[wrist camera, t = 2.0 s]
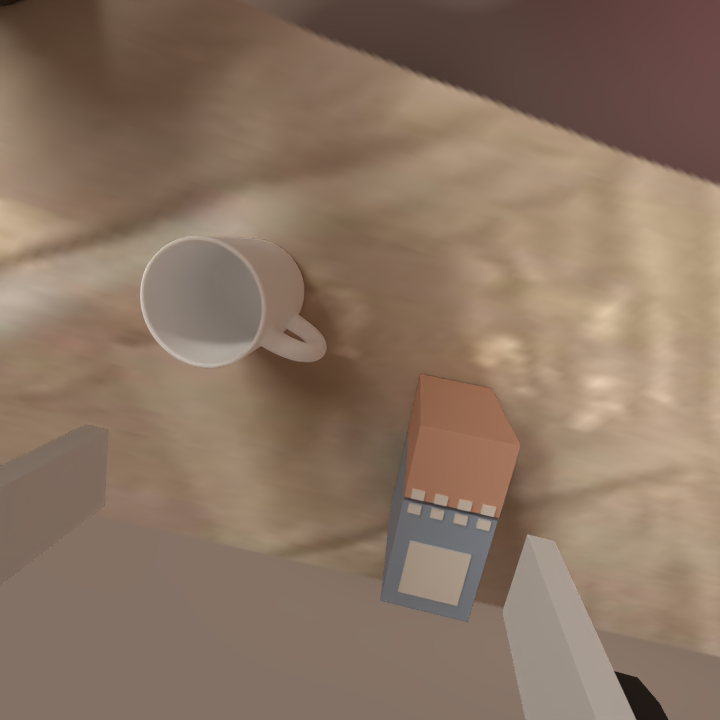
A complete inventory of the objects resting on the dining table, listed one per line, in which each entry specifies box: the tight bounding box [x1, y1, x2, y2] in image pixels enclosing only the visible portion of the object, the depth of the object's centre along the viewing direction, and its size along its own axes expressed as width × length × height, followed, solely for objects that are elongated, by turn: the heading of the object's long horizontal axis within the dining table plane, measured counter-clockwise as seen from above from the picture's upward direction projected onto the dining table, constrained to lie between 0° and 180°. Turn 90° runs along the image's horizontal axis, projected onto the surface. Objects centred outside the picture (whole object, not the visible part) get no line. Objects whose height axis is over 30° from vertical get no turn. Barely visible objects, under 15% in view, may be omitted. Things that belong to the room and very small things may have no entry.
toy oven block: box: [381, 432, 498, 622], centre depth 34 cm, size 8×6×11 cm
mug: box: [140, 236, 327, 368], centre depth 33 cm, size 12×8×10 cm
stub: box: [404, 374, 521, 518], centre depth 32 cm, size 5×6×11 cm
